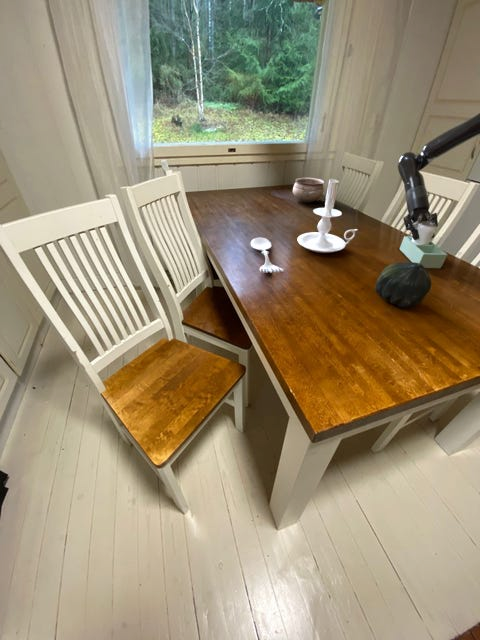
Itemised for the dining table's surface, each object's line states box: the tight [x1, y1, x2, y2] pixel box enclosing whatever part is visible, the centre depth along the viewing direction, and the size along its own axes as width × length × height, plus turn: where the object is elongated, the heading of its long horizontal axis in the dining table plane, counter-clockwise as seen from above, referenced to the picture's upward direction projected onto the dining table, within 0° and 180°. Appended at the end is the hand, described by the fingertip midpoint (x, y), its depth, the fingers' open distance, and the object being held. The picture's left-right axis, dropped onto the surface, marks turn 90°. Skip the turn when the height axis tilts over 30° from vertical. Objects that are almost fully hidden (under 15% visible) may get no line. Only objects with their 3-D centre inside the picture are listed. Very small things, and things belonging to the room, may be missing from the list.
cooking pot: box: [292, 177, 325, 204], centre depth 172 cm, size 25×19×12 cm
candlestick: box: [296, 178, 358, 254], centre depth 112 cm, size 21×25×28 cm
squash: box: [375, 261, 432, 309], centre depth 86 cm, size 14×15×15 cm
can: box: [411, 221, 437, 245], centre depth 113 cm, size 6×6×12 cm
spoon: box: [250, 237, 284, 274], centre depth 111 cm, size 9×32×4 cm, turn 5°
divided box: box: [399, 235, 448, 269], centre depth 112 cm, size 9×17×6 cm, turn 177°
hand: (424, 238), depth 112 cm, fingers closed on can, 6 cm apart
